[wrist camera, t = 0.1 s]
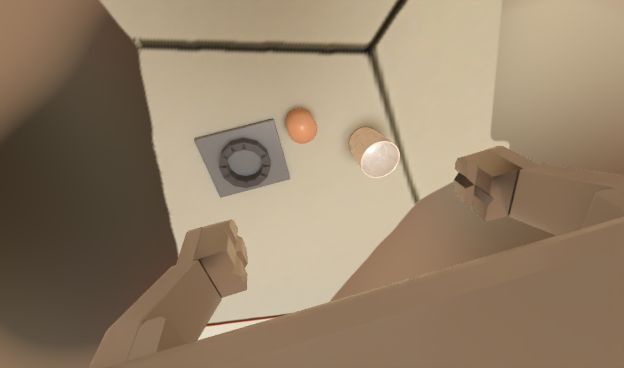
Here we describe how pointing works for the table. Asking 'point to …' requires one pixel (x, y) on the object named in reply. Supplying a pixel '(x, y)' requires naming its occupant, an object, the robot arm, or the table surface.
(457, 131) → the table surface
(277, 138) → the square flange plate
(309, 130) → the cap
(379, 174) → the white cup
